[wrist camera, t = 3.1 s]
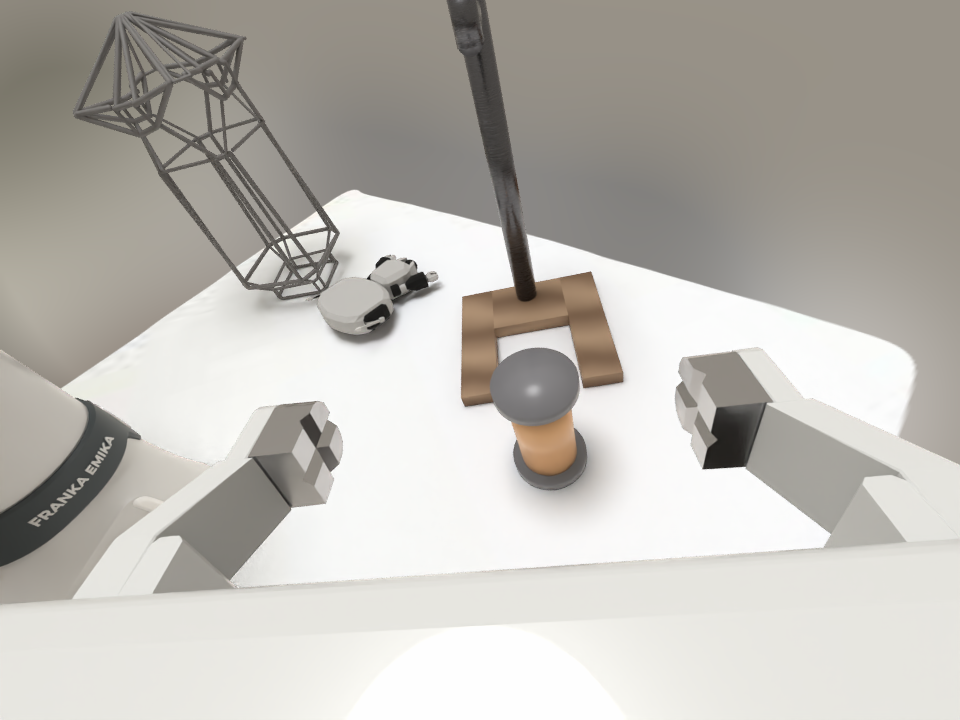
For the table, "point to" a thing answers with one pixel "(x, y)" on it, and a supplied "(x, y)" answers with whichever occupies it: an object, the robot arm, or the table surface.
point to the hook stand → (494, 134)
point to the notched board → (550, 308)
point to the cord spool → (541, 415)
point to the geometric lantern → (208, 60)
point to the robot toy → (370, 295)
